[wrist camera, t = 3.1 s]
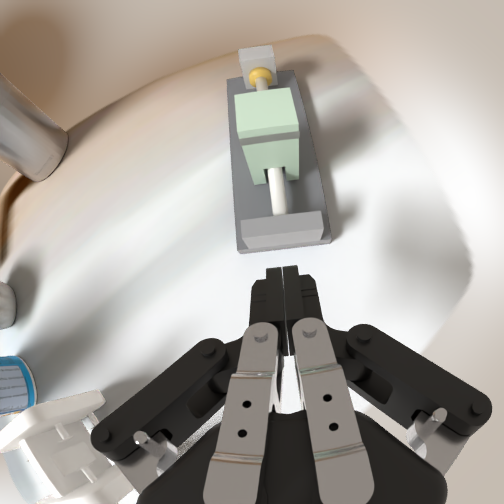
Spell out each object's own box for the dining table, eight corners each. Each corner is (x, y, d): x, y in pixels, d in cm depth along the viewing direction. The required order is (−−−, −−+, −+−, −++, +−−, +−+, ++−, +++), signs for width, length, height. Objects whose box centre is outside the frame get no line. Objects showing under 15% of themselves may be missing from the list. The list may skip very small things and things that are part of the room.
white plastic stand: (112, 380, 25) (30, 399, 13) (170, 462, 22) (111, 518, 11) (51, 424, 24) (-13, 440, 13) (95, 489, 22) (41, 523, 10)
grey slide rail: (329, 243, 25) (339, 222, 19) (240, 254, 26) (225, 235, 20) (293, 78, 30) (291, 42, 24) (229, 87, 31) (218, 53, 25)
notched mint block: (299, 179, 24) (299, 124, 17) (253, 185, 25) (236, 132, 17) (293, 146, 25) (290, 86, 18) (250, 151, 26) (233, 94, 18)
